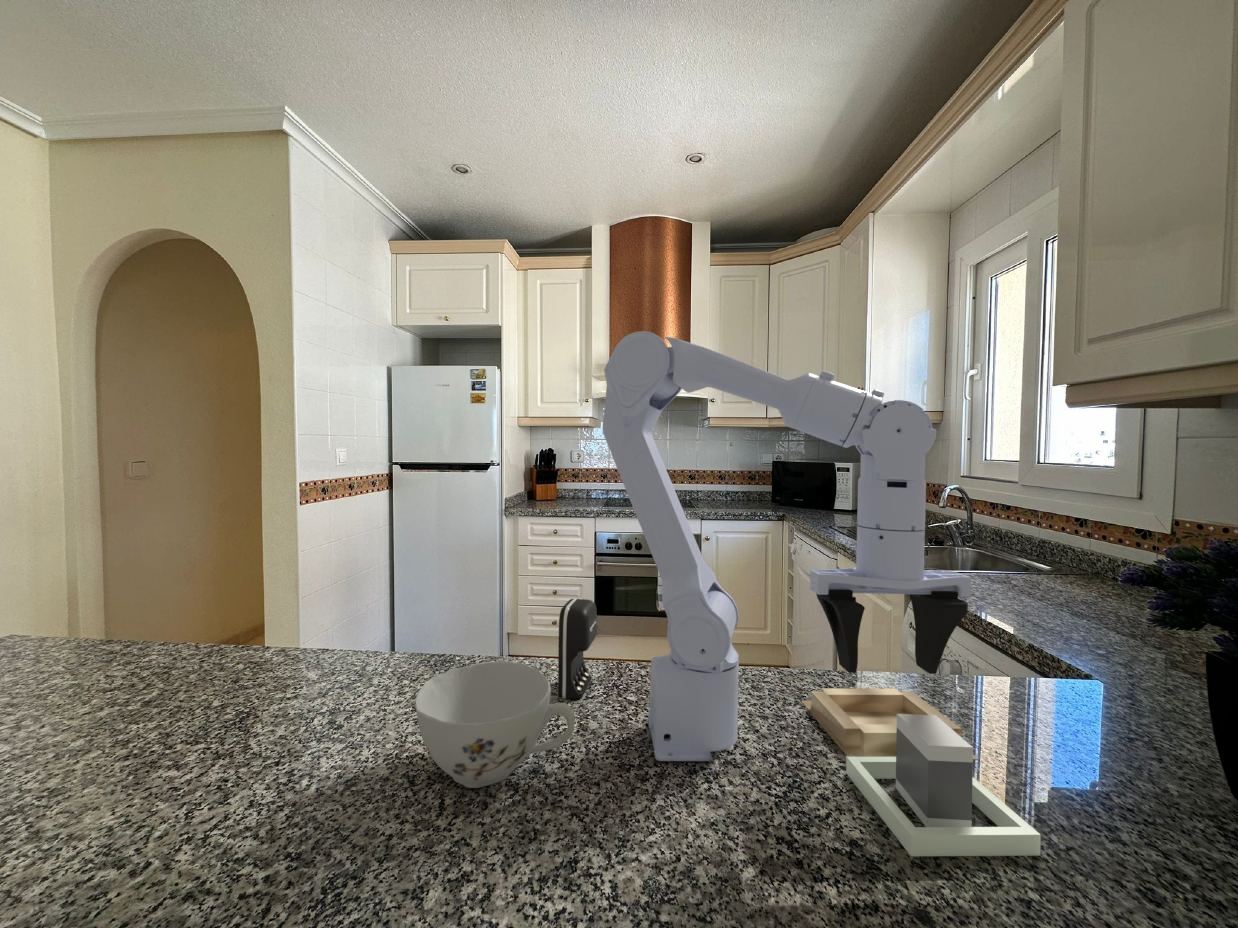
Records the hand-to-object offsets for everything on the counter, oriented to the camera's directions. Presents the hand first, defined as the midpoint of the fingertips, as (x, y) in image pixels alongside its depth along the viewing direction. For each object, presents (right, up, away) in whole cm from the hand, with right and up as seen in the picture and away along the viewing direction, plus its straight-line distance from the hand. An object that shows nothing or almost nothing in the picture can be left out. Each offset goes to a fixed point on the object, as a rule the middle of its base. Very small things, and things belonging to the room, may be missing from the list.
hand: (887, 668), depth 47 cm
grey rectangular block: (+1, -10, -6) cm, 11 cm away
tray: (+1, -10, -6) cm, 12 cm away
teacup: (-38, -10, 0) cm, 39 cm away
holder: (+3, -10, +7) cm, 13 cm away
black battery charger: (-31, -10, +17) cm, 37 cm away
